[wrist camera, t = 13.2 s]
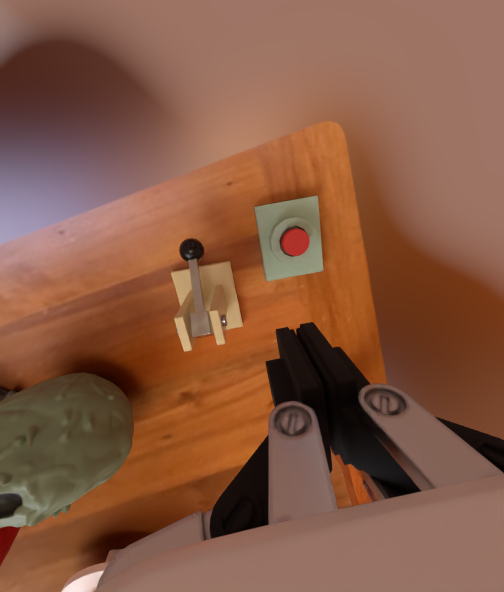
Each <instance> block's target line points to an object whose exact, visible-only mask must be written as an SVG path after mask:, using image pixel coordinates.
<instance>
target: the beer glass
mask: <svg viewBox="0 0 504 592" xmlns="http://www.w3.org/2000/svg"><path fill="white" fill-rule="evenodd" d="M332 453H333V451H332ZM333 455H334V453H333ZM334 457H335V458H336V460H337V461H338V463H339V464H340V466H341V469H342V471H343V475H344V478H345V482H346V486H347V490H348V494H349V497H350V500H351V503H352V506H356V505H361V504H366V503H370V502H375V501H378V499H377V498H376V496H375V495H374V493H373V492H372V490H371V489H370V487H369V486H368V484H367V483H366V481H365V479H364V477H363V475H362V472H361V471H358V470H357V469H355V468H354V467H353V466H352V465H351V464H348V465H344V463H343V461H342V459H341V457H340V455H336V456H335V455H334Z"/></svg>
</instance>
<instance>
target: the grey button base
mask: <svg viewBox="0 0 504 592" xmlns="http://www.w3.org/2000/svg"><path fill="white" fill-rule="evenodd" d="M254 210H255V216H256V223H257V229H258V235H259V242H260V248H261V255H262V261H263V267H264V274H265V279H266V281H272V280H277V279H282V278H288V277H293V276H298V275H304V274H309V273H314V272H320V271H323V259H322V245H321V232H320V219H319V205H318V196H312V197H306V198H300V199H295V200H289V201H284V202H278V203H273V204H267V205H262V206H256V207H254ZM292 228H297V229H301V230H304V231H305V232H306V233H307V234H308V236H309V247H308V249H307V250H306V251H305V252H304V253H303V254H301V255H299V256H293V255H290V254H288V253H287V252H285V251H284V250H283V248H282V245H281V239H282V236H283V234H284V233H285V232H286V231H287V230H289V229H292Z"/></svg>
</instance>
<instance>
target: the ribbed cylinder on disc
mask: <svg viewBox="0 0 504 592" xmlns="http://www.w3.org/2000/svg"><path fill="white" fill-rule="evenodd" d="M121 550H123V549H115V550H110V551H109V553H108V556H107V558H106V561H105V563H100V564H96V565H93V566H90V567H87V568H85V569H83V570H81V571H79V572H77V573H76V574H74V575H73V576H72V577H71V578H70V579H68V581H67V582H66V583H65V585H64V586H63V589H62V591H61V592H93V591H95V590H96V588H97V585H98V582H99V579H100V577H101V575H102V574H103V572H104V570H105V568H106V567H107V565H108V564H109V562H110V561H111V560H112V559H113V558H114V557H115V556H116V554H117V553H118V552H120V551H121Z"/></svg>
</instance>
